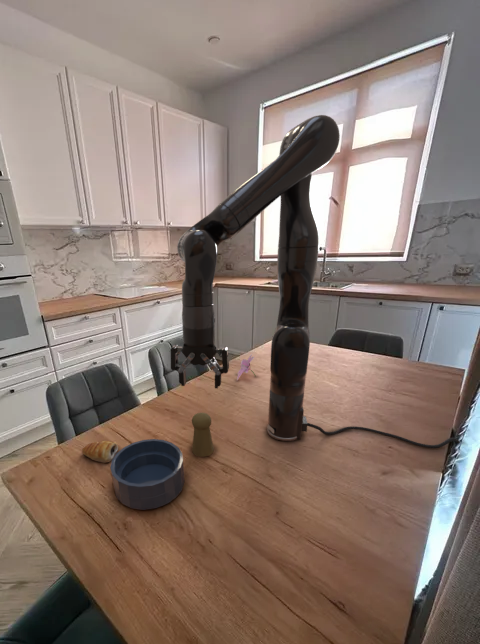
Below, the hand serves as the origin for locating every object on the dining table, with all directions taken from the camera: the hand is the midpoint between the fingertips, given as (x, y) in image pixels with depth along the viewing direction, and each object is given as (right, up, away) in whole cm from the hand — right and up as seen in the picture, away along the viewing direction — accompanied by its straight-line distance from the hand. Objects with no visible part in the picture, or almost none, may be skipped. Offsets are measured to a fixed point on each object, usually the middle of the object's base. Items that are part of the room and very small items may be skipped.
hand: (200, 386), depth 79 cm
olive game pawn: (+1, -18, +7) cm, 20 cm away
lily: (+26, +3, +51) cm, 58 cm away
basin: (-12, -23, -4) cm, 27 cm away
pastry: (-27, -20, +7) cm, 34 cm away
